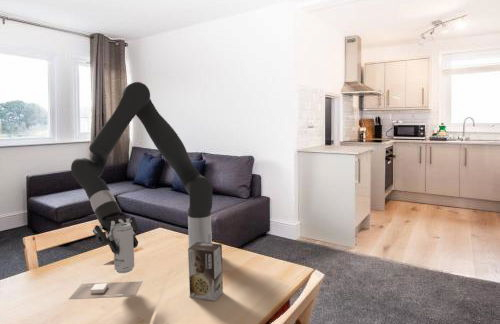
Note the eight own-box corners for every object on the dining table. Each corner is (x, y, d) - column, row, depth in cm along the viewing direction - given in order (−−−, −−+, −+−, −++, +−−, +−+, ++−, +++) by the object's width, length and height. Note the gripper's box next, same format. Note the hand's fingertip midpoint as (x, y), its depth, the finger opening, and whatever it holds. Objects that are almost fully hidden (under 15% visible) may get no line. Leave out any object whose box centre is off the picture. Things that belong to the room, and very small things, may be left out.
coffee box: (223, 292, 111) (222, 244, 109) (215, 302, 105) (214, 251, 103) (198, 287, 114) (197, 240, 112) (188, 297, 108) (187, 247, 106)
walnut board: (142, 284, 117) (142, 281, 117) (135, 299, 107) (135, 296, 107) (82, 286, 116) (81, 283, 115) (68, 302, 106) (68, 299, 106)
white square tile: (107, 286, 113) (107, 283, 113) (103, 292, 109) (103, 289, 109) (95, 287, 113) (95, 283, 113) (90, 293, 109) (90, 289, 109)
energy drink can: (110, 270, 110) (108, 225, 108) (126, 264, 115) (125, 220, 113) (122, 275, 107) (120, 229, 105) (138, 268, 112) (136, 224, 110)
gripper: (87, 204, 107) (109, 250, 101) (129, 196, 119) (151, 237, 113) (80, 218, 111) (101, 262, 105) (121, 209, 122) (142, 249, 117)
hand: (126, 249), depth 109 cm, fingers closed on energy drink can, 6 cm apart
